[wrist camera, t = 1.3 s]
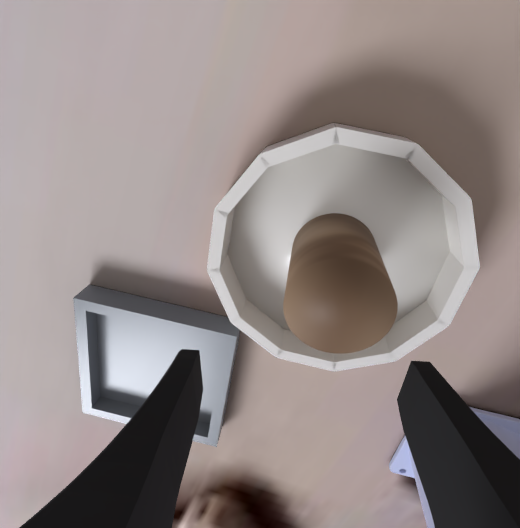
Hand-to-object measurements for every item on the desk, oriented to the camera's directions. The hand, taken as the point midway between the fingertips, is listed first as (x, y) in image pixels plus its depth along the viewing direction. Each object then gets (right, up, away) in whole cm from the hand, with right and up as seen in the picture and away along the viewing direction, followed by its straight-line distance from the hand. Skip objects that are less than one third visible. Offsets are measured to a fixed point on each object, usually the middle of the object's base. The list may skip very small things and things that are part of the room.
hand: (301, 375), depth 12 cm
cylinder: (+3, +5, +8) cm, 10 cm away
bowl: (+3, +5, +9) cm, 10 cm away
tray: (-9, -4, +15) cm, 17 cm away
